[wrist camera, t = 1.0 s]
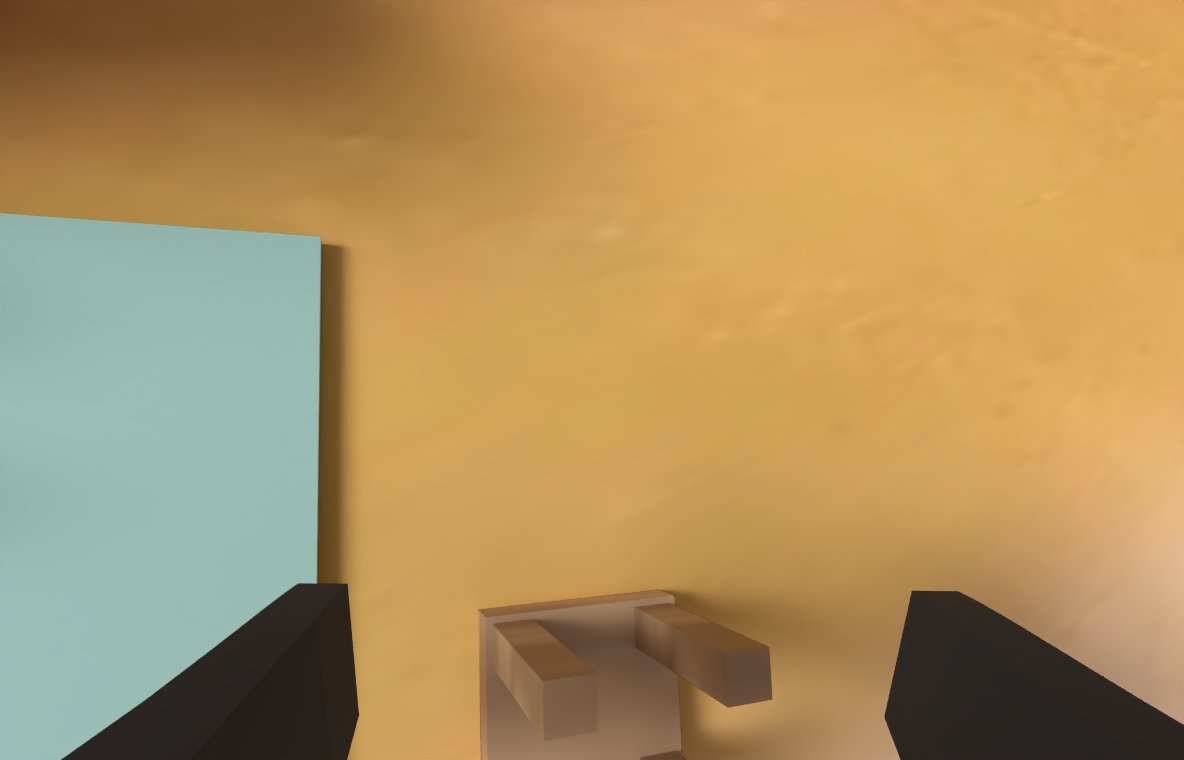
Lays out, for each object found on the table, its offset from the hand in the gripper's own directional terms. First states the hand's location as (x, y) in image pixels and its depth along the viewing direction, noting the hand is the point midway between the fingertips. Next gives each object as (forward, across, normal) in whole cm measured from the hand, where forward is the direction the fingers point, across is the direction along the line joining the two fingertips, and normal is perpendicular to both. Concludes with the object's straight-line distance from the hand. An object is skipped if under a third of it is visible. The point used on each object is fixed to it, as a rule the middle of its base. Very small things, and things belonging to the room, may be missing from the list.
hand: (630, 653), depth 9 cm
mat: (+8, +14, +3) cm, 17 cm away
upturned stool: (+10, 0, +10) cm, 14 cm away
